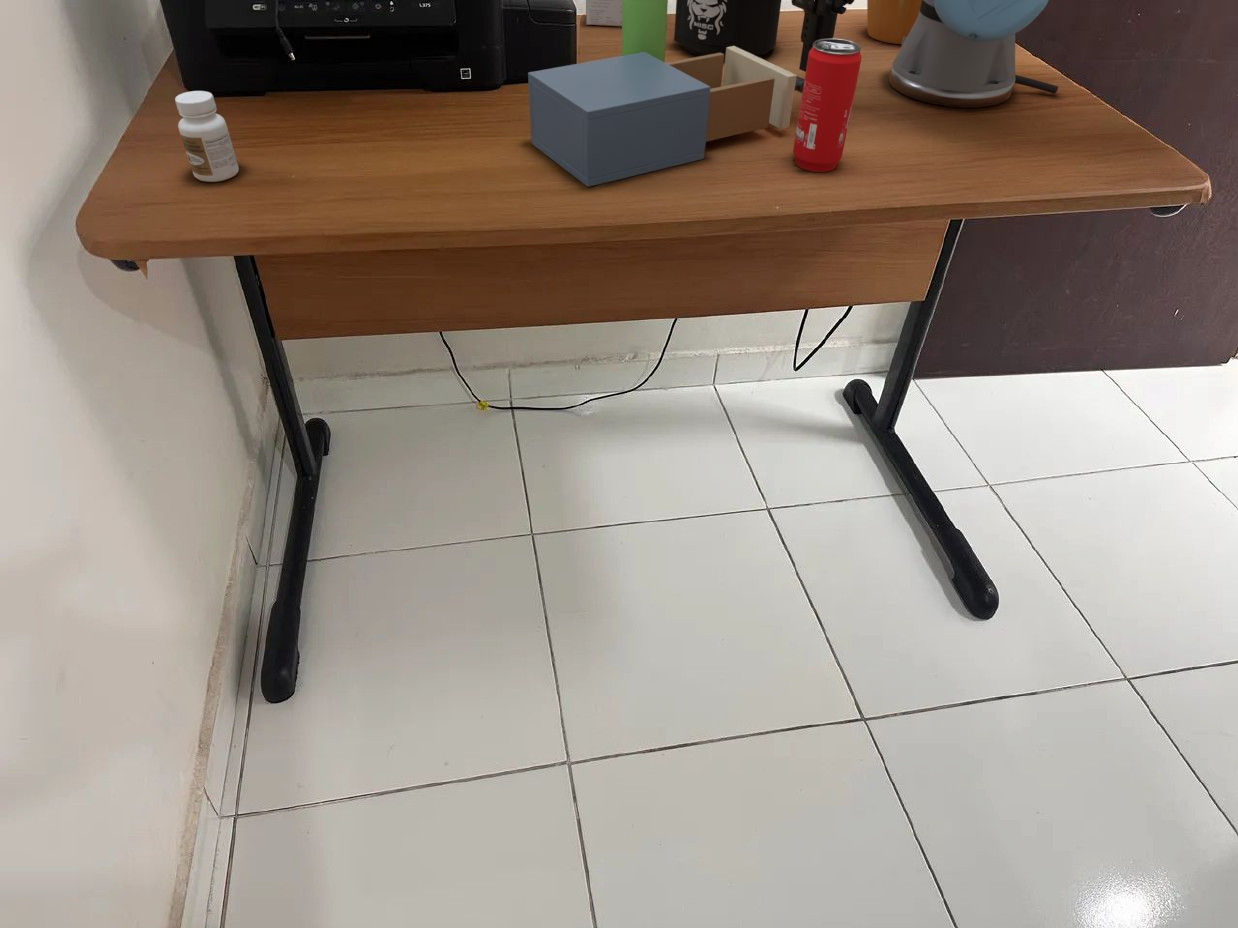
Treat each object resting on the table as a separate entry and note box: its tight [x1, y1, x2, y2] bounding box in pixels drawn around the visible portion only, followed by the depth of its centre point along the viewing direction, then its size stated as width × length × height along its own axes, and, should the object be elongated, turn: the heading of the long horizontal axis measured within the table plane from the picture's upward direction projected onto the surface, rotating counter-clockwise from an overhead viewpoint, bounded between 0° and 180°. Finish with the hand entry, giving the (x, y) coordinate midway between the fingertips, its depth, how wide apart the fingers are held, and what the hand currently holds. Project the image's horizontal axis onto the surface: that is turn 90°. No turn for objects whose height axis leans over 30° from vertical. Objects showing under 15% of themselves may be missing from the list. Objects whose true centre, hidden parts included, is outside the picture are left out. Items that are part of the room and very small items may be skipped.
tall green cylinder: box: [620, 0, 669, 63], centre depth 102 cm, size 5×5×15 cm
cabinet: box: [527, 52, 710, 188], centre depth 92 cm, size 15×13×8 cm
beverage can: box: [792, 37, 862, 173], centre depth 89 cm, size 5×5×12 cm
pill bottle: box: [174, 90, 240, 183], centre depth 86 cm, size 4×4×8 cm
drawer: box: [665, 46, 805, 143], centre depth 98 cm, size 18×11×6 cm, turn 121°
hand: (811, 71), depth 103 cm, fingers closed
